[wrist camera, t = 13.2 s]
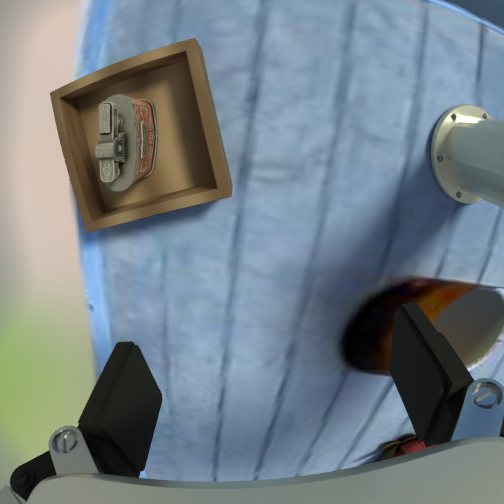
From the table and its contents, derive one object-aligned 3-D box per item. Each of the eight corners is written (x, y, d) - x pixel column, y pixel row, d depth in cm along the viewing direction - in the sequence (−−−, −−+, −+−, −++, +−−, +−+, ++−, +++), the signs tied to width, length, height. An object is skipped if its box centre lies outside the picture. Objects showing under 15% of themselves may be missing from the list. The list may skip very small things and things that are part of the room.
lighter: (159, 175, 31) (127, 198, 22) (128, 176, 31) (87, 199, 22) (159, 98, 28) (125, 89, 19) (127, 100, 28) (84, 95, 19)
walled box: (201, 49, 27) (195, 37, 23) (232, 186, 33) (231, 196, 29) (72, 94, 28) (50, 92, 24) (105, 218, 34) (87, 232, 29)
